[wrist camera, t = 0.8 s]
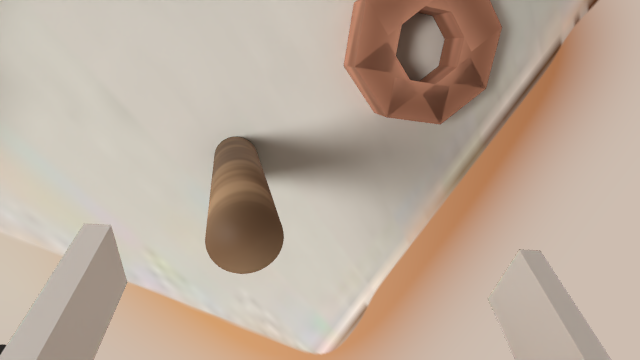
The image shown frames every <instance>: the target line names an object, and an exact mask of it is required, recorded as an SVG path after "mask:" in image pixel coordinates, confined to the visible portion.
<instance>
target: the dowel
mask: <svg viewBox="0 0 640 360" xmlns="http://www.w3.org/2000/svg"><path fill="white" fill-rule="evenodd" d="M283 239H284V235H283V228H282V225H281V222H280V219H279V216H278V213H277V210H276V207H275V204H274V201H273V198H272V195H271V193H270V190H269V187H268V184H267V181H266V178H265V175H264V172H263V169H262V166H261V163H260V160H259V157H258V154H257V151H256V149H255V147H254V145H253V144H252V143H251V142H250V141H248V140H247V139H245V138H242V137H230V138H227V139H225V140H223V141H222V142H221V143H220V144H219V145H218V147H217V148H216V151H215V156H214V165H213V174H212V183H211V192H210V201H209V210H208V219H207V228H206V237H205V244H206V249H207V252H208V254H209V256H210V258H211V259H212V260H213V261H214V263H215V264H217V265H218V266H219V267H221V268H222V269H224V270H226V271H229V272H232V273H239V274H246V273H252V272H256V271H259V270H261V269H263V268H265V267H266V266H268V265H269V264H270V263H272V262H273V261H274V260H275V258H276V257H277V256H278V254H279V252H280V250H281V248H282V245H283Z"/></svg>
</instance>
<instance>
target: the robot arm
mask: <svg viewBox="0 0 640 360" xmlns="http://www.w3.org/2000/svg"><path fill="white" fill-rule="evenodd" d="M126 284H127V280H126V276H125V273H124V269H123V266H122V262H121V259H120V255H119V252H118V248H117V244H116V241H115V237H114V234H113V230H112V227H111V225H102V224H86V223H84V224H83V226H82V227H81V229H80V231H79V232H78V234H77V235H76V237H75V238H74V240H73V242H72V243H71V245H70V246H69V248H68V249H67V251H66V253H65V254H64V256H63V257H62V259H61V260H60V262H59V264H58V265H57V267H56V268H55V270H54V272H53V273H52V275H51V276H50V278H49V279H48V281H47V283H46V284H45V286H44V287H43V289H42V290H41V292H40V294H39V295H38V297H37V298H36V300H35V301H34V303H33V304H32V306H31V308H30V309H29V311H28V312H27V314H26V316H25V317H24V319H23V320H22V322H21V323H20V325H19V326H18V328H17V330H16V331H15V333H14V334H13V336H12V338H11V339H10V341H9V342H8V344H7V345H0V360H94V358H95V355H96V353H97V351H98V349H99V346H100V344H101V341H102V339H103V337H104V335H105V332H106V330H107V328H108V325H109V323H110V321H111V319H112V316H113V314H114V312H115V310H116V307H117V305H118V303H119V300H120V298H121V296H122V293H123V291H124V289H125V286H126ZM488 301H489V303H490V305H491V307H492V310H493V311H494V314H495V316H496V318H497V321H498V323H499V325H500V327H501V329H502V332H503V334H504V336H505V339H506V341H507V343H508V345H509V347H510V350H511V352H512V354H513V356H514V359H515V360H611V359H610V357H609V355H608V354H607V352H606V351H605V349H604V348H603V346H602V345H601V343H600V342H599V340H598V338H597V337H596V336H595V334H594V332H593V331H592V329H591V328H590V326H589V325H588V323H587V322H586V320H585V319H584V317H583V315H582V314H581V312H580V311H579V309H578V308H577V306H576V305H575V303H574V302H573V300H572V299H571V297H570V295H569V294H568V292H567V291H566V289H565V288H564V287H563V285H562V283H561V282H560V280H559V279H558V277H557V275H556V274H555V272H554V271H553V269H552V268H551V266H550V265H549V263H548V262H547V260H546V259H545V257H544V255H543V254H542V253H541V251H538V250H521V249H519V251H518V252H517V254H516V255H515V257H514V259H513V260H512V261H511V263H510V265H509V266H508V268H507V269H506V271H505V272H504V274H503V275H502V277H501V279H500V280H499V282H498V283H497V285H496V286H495V288H494V289H493V291H492V292H491V294H490V296H489V297H488Z"/></svg>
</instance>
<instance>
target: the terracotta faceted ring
mask: <svg viewBox="0 0 640 360" xmlns="http://www.w3.org/2000/svg"><path fill="white" fill-rule="evenodd" d="M417 12H418V13H422V14H427V15H431V16H433V17H434V19H435V21H436V23H437V25H438V27H439V29H440V31H441V33H442V35H443V37H444V38H445V41H444V45H443V49H442V54H441V58H440V63H439V66H438V67H437V68H436V69H434V70H433V71H432V72H431V73H429V74H428V75H427V76H426V77H424V78H423V79H422V80H420V81H413V80H410V79H409V77H408V76H407V74H406V72H405V71H404V69H403V67H402V65H401V64H400V62H399V60H398V59H397V57H396V52H397V47H398V42H399V37H400V32H401V27H402V24H403V23H405V22H406V21H407V20H408V19H410V18H411V17H412V16H413V15H415V14H416V13H417ZM501 29H502V26H501V24H500V22H499V20H498V17H497V15H496V13H495V11H494V9H493V6H492V4H491V2H490V0H357V1H356V2H355V3H354V6H353V12H352V18H351V25H350V31H349V37H348V43H347V49H346V55H345V61H344V67H345V69H346V70H347V72H348V73H349V75H350V76H351V78H352V79H353V81H354V82H355V84H356V85H357V87H358V88H359V90H360V92H361V93H362V95H363V96H364V98H365V99H366V101H367V102H368V104H369V105H370V107H371V108H372V110H373V111H374V113H377V114H379V115H382V116H385V117H389V118H396V119H404V120H411V121H419V122H426V123H434V124H441V123H443V122H444V121H445V120H447V119H448V118H449V117H450V116H452V115H453V114H454V113H456V112H457V111H458V110H459V109H461V108H462V107H463V106H464V105H466V104H467V103H468V102H470V101H471V100H472V99H473V98H475V97H476V96H477V95H478V94H480V93H481V92H482V91H484V90H485V89H486V87H487V83H488V79H489V75H490V71H491V67H492V64H493V60H494V56H495V52H496V48H497V45H498V41H499V37H500V33H501Z"/></svg>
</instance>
